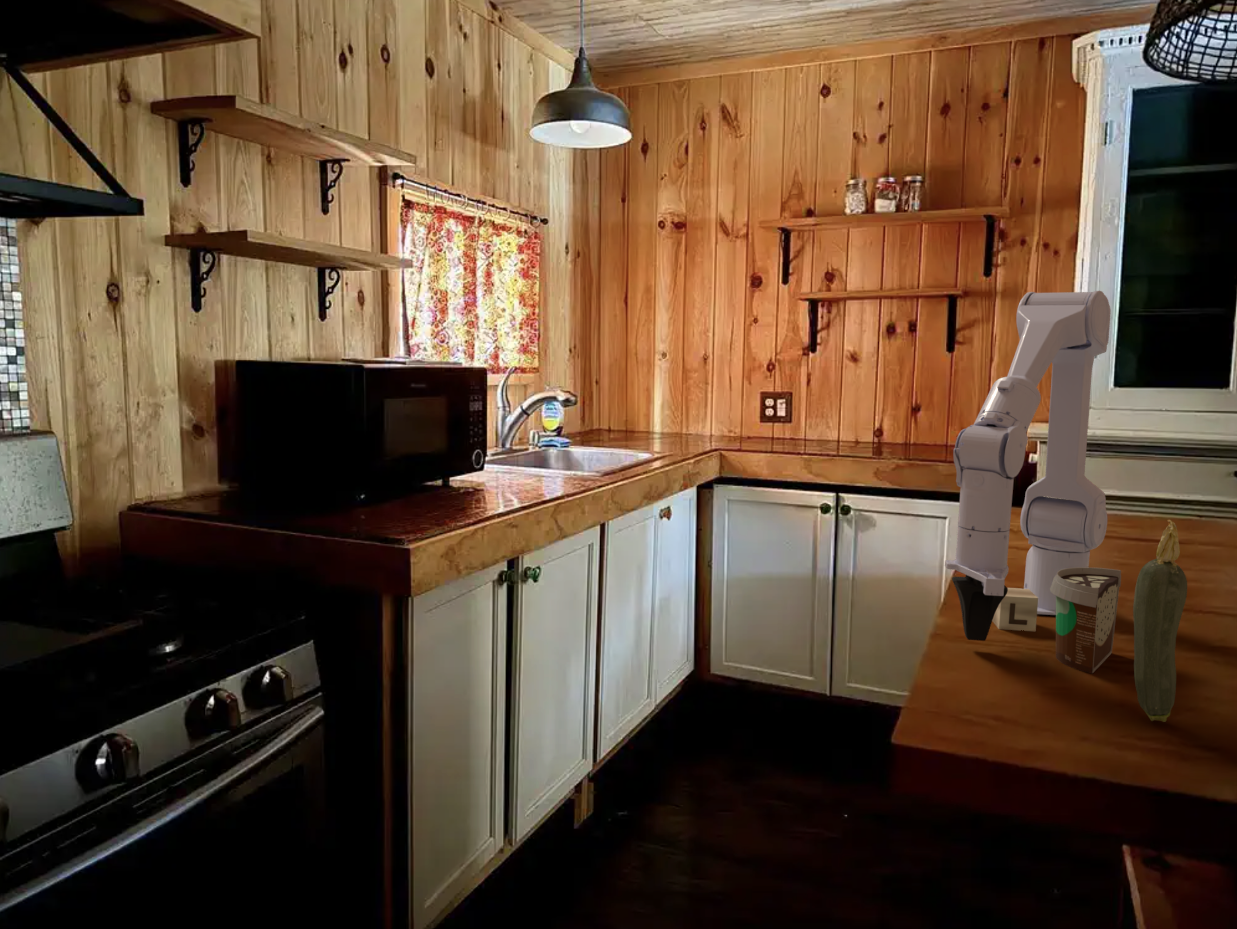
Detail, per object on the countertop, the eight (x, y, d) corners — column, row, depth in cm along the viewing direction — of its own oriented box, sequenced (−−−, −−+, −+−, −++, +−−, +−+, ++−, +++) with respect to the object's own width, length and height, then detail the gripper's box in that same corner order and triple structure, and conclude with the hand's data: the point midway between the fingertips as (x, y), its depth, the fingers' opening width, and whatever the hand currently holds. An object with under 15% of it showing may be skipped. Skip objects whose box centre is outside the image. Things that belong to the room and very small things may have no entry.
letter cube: (990, 619, 126) (993, 586, 125) (1025, 621, 125) (1028, 588, 124) (999, 630, 121) (1001, 596, 121) (1035, 632, 120) (1038, 598, 120)
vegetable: (1159, 734, 89) (1181, 527, 86) (1113, 718, 93) (1132, 519, 90) (1181, 723, 92) (1202, 523, 89) (1135, 709, 95) (1154, 515, 93)
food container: (1060, 639, 118) (1067, 561, 116) (1114, 650, 114) (1122, 569, 112) (1031, 664, 108) (1038, 579, 107) (1089, 677, 104) (1097, 589, 103)
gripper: (937, 514, 118) (930, 618, 120) (960, 538, 104) (952, 656, 106) (995, 517, 117) (987, 622, 119) (1027, 541, 103) (1018, 660, 105)
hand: (975, 638), depth 112 cm, fingers closed
